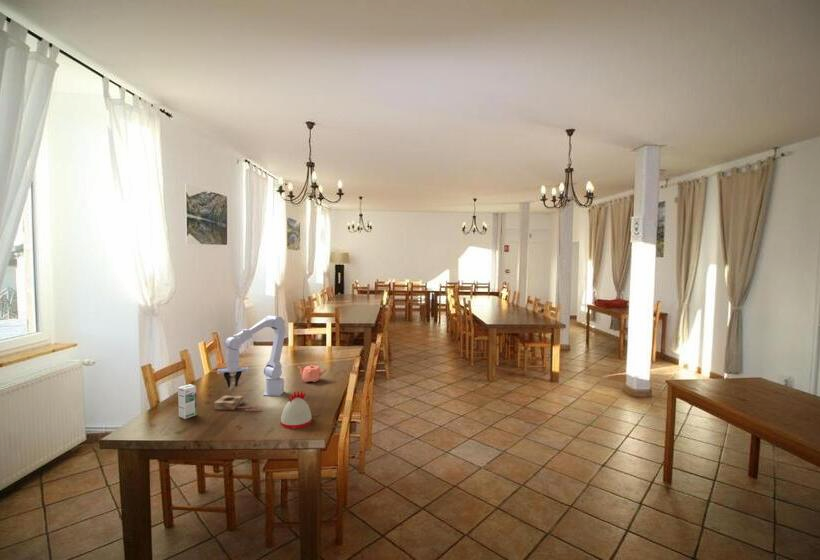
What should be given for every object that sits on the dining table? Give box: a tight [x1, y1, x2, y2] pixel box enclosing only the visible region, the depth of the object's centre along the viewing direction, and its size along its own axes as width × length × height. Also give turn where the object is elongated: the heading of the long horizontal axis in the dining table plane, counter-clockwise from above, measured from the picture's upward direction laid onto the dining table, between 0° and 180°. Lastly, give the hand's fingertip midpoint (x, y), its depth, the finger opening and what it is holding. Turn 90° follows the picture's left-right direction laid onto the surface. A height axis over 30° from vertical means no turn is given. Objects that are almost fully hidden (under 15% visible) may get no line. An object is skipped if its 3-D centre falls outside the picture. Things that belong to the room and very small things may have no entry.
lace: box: [235, 406, 263, 412], centre depth 196 cm, size 15×4×1 cm, turn 88°
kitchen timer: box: [280, 389, 313, 430], centre depth 181 cm, size 14×14×15 cm
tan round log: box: [229, 374, 237, 393], centre depth 202 cm, size 3×3×8 cm
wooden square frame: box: [213, 395, 244, 411], centre depth 200 cm, size 10×10×4 cm
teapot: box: [297, 364, 327, 383], centre depth 243 cm, size 14×12×10 cm
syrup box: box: [177, 383, 198, 420], centre depth 186 cm, size 6×6×14 cm
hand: (232, 386), depth 202 cm, fingers closed on tan round log, 3 cm apart
